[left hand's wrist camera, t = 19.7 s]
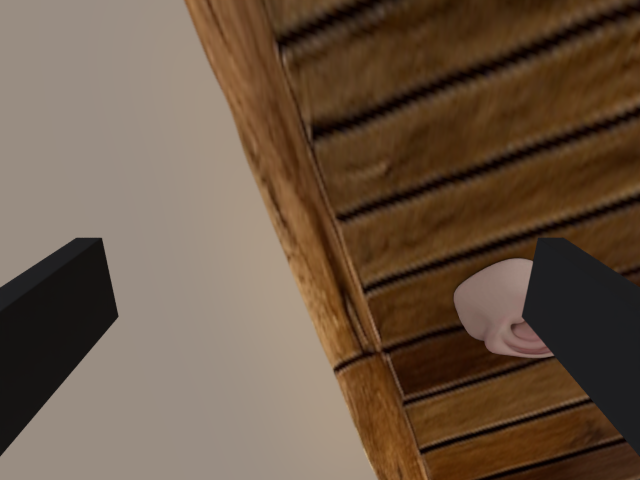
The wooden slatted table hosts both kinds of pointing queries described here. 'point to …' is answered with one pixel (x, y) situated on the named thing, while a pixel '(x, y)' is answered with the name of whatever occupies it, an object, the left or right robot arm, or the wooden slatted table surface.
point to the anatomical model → (500, 309)
